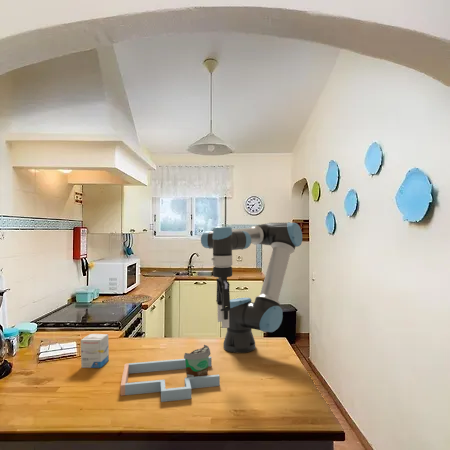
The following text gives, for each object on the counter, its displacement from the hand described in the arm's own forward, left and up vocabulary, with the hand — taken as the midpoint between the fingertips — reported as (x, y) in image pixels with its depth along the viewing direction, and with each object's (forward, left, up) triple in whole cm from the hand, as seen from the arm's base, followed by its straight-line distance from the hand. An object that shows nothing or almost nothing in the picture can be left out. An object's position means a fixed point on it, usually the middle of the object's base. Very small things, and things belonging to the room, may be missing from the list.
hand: (223, 324), depth 141 cm
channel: (+21, +4, -19) cm, 29 cm away
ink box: (+51, -22, -20) cm, 59 cm away
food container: (+9, 0, -20) cm, 21 cm away
